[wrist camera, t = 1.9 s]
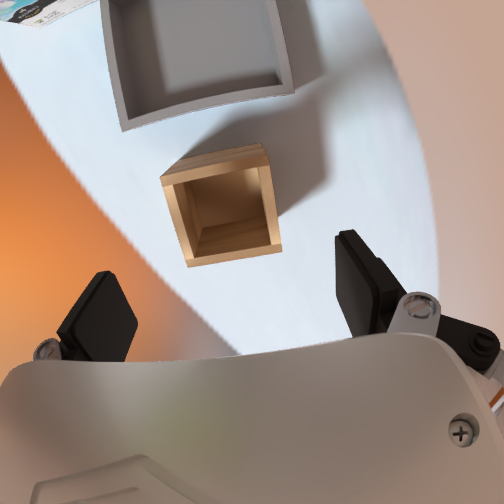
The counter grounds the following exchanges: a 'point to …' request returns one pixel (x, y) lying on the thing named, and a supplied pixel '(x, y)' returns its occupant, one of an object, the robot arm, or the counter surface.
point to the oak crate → (223, 205)
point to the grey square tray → (192, 55)
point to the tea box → (38, 10)
